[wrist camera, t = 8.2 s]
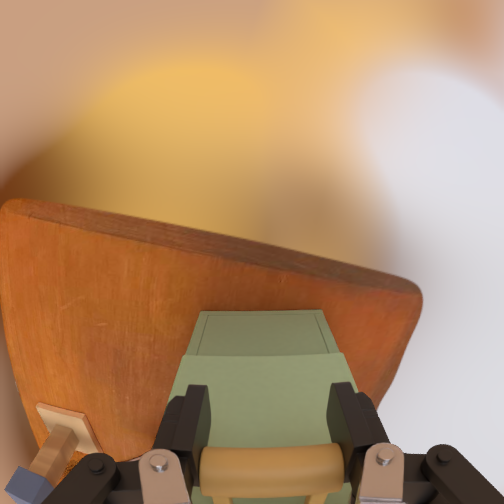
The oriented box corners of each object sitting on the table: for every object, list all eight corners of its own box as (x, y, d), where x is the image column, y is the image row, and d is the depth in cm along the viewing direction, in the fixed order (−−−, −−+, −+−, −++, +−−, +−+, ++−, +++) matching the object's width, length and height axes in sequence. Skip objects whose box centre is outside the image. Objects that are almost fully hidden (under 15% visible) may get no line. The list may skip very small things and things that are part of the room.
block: (18, 465, 24) (4, 489, 19) (45, 477, 24) (31, 504, 19) (34, 485, 25) (22, 509, 21) (61, 497, 25) (50, 522, 20)
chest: (310, 410, 34) (320, 459, 26) (211, 411, 34) (203, 461, 26) (321, 309, 30) (340, 353, 22) (200, 310, 30) (184, 355, 22)
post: (38, 401, 35) (2, 451, 24) (85, 413, 35) (51, 473, 23) (59, 440, 37) (31, 488, 26) (103, 452, 37) (79, 507, 26)
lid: (401, 535, 8) (453, 478, 6) (133, 542, 8) (85, 490, 7) (341, 361, 22) (350, 296, 20) (184, 363, 22) (175, 299, 21)
